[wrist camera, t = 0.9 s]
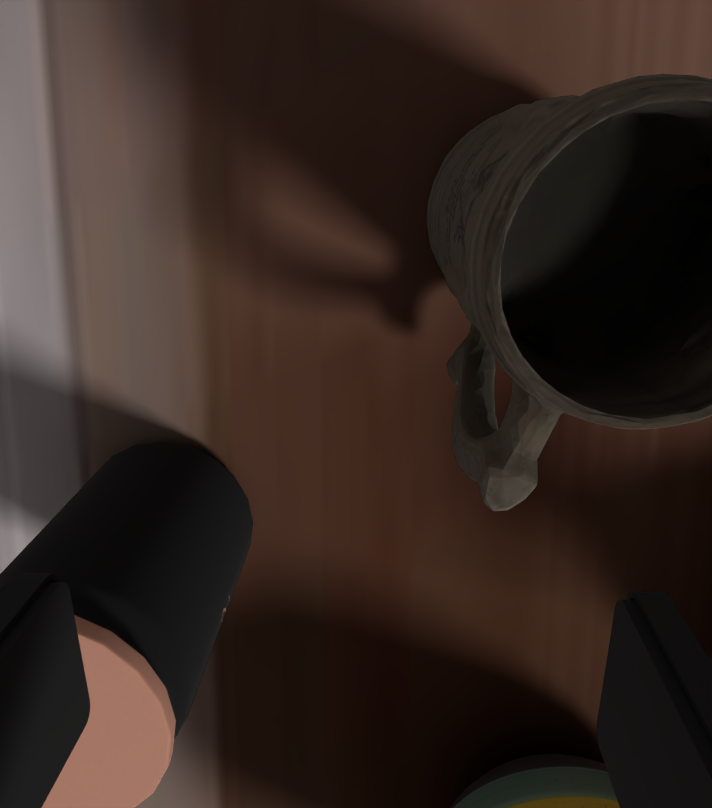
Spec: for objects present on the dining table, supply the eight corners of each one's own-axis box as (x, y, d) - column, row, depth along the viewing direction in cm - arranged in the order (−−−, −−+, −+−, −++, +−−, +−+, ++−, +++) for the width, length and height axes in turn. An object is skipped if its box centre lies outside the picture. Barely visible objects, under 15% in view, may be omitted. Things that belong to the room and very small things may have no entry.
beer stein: (464, 66, 34) (532, 15, 16) (666, 121, 34) (962, 134, 16) (386, 345, 40) (370, 541, 22) (558, 389, 41) (682, 618, 22)
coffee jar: (133, 595, 46) (-16, 847, 29) (66, 459, 43) (-146, 653, 26) (279, 559, 45) (211, 803, 28) (221, 414, 41) (103, 591, 24)
